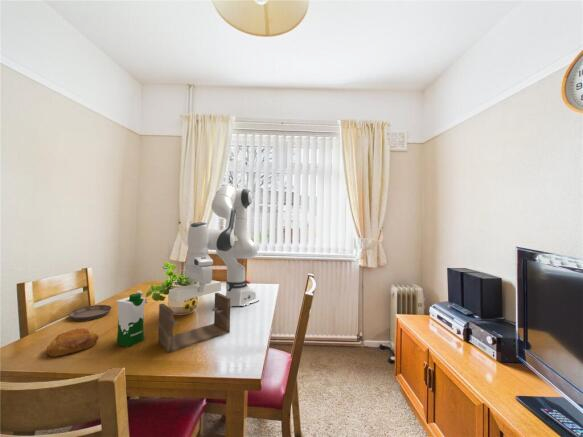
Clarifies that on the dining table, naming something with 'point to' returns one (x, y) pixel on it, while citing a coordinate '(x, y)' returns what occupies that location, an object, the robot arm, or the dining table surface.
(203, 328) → the shelf frame
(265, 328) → the dining table surface
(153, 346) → the dining table surface
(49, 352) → the croissant
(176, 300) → the shelf board
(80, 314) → the plant saucer
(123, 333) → the milk carton
